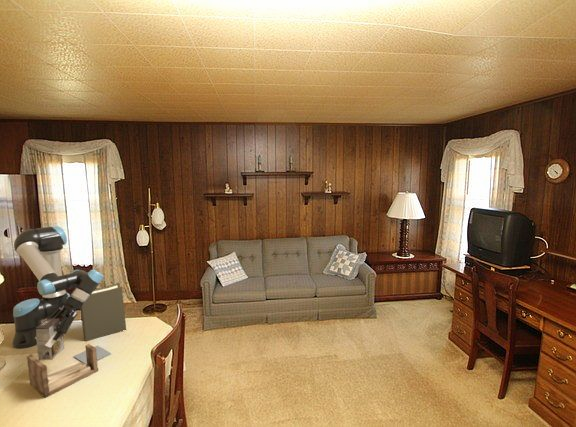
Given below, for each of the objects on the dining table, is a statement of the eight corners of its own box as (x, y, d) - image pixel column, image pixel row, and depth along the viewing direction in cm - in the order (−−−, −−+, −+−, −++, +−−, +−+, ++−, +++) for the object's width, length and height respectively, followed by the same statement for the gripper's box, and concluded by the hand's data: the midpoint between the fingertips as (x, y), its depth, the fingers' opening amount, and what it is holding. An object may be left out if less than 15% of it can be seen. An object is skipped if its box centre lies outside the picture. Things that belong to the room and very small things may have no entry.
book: (84, 342, 179) (79, 296, 175) (83, 335, 187) (78, 291, 183) (126, 330, 192) (121, 287, 188) (123, 324, 200) (119, 282, 195)
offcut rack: (30, 384, 143) (26, 356, 141) (82, 360, 161) (80, 334, 160) (45, 398, 135) (41, 367, 133) (98, 370, 153) (96, 344, 151)
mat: (73, 357, 164) (73, 355, 164) (97, 346, 174) (97, 345, 174) (87, 365, 157) (86, 364, 157) (111, 354, 167) (111, 353, 167)
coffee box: (50, 349, 153) (47, 318, 151) (64, 348, 154) (61, 317, 151) (37, 360, 144) (34, 327, 142) (52, 360, 145) (49, 327, 142)
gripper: (94, 307, 153) (60, 353, 142) (72, 297, 165) (39, 338, 154) (82, 301, 148) (45, 347, 137) (60, 290, 160) (25, 332, 149)
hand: (42, 342), depth 145 cm, fingers closed on coffee box, 10 cm apart
